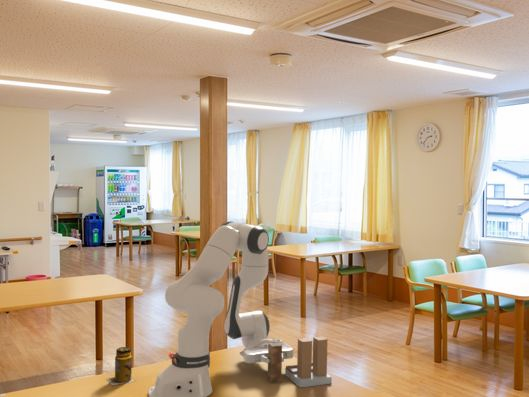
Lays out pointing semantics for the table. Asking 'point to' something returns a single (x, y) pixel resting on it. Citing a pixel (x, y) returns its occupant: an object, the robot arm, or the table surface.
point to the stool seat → (310, 363)
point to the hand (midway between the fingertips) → (275, 360)
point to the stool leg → (275, 362)
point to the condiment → (122, 367)
